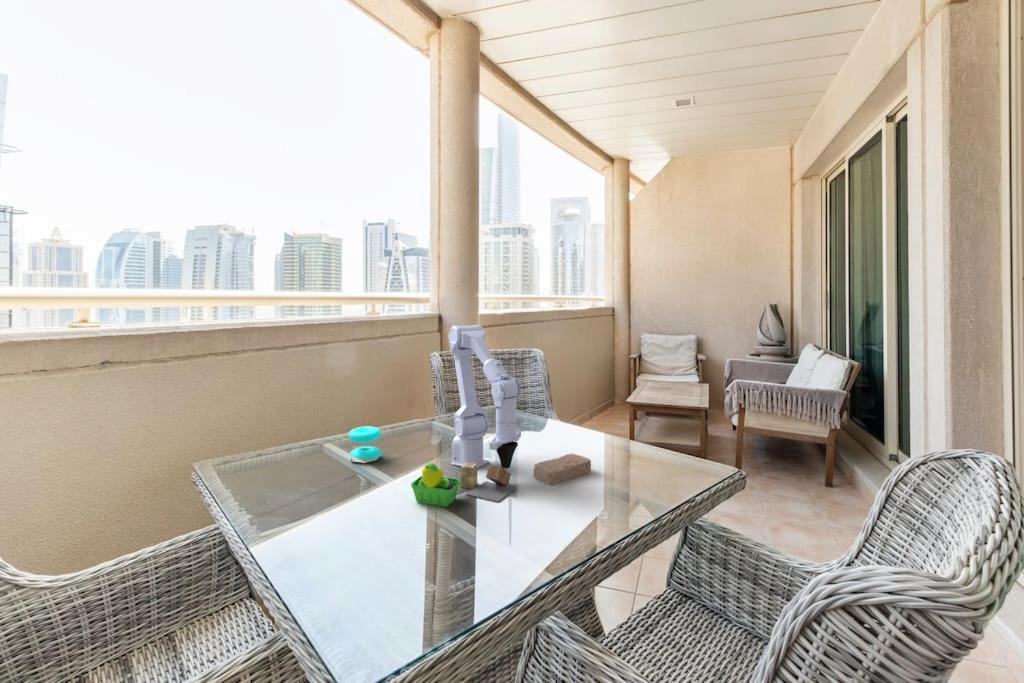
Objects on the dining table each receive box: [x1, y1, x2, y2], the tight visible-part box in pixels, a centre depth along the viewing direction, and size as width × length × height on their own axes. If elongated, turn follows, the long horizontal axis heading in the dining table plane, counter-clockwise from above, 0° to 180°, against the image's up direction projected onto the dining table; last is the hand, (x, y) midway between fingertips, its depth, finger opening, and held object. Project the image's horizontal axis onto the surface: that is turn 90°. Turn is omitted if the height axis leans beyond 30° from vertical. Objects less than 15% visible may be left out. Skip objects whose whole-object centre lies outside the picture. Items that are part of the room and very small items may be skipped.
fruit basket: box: [410, 462, 461, 507], centre depth 129 cm, size 11×9×11 cm
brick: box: [532, 452, 592, 486], centre depth 148 cm, size 17×8×5 cm, turn 126°
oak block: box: [460, 462, 478, 490], centre depth 140 cm, size 4×4×6 cm
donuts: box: [348, 425, 382, 459], centre depth 162 cm, size 10×10×10 cm
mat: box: [465, 481, 517, 504], centre depth 136 cm, size 10×10×1 cm
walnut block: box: [485, 464, 512, 486], centre depth 139 cm, size 4×4×7 cm
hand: (505, 467), depth 142 cm, fingers closed
